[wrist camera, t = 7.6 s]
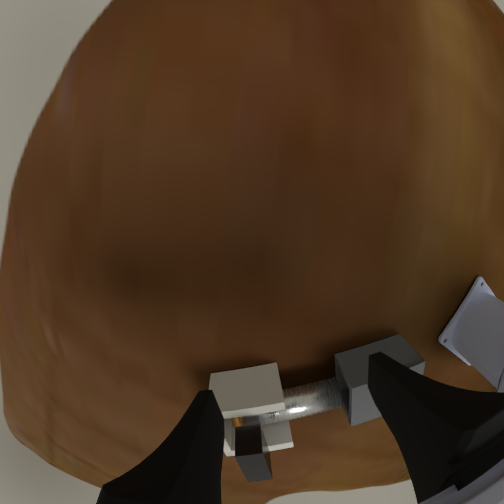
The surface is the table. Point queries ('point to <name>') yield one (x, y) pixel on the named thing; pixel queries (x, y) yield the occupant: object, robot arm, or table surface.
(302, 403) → the silver cylinder with handle
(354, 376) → the charcoal sleeve
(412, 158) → the table surface
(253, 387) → the ceramic socket
